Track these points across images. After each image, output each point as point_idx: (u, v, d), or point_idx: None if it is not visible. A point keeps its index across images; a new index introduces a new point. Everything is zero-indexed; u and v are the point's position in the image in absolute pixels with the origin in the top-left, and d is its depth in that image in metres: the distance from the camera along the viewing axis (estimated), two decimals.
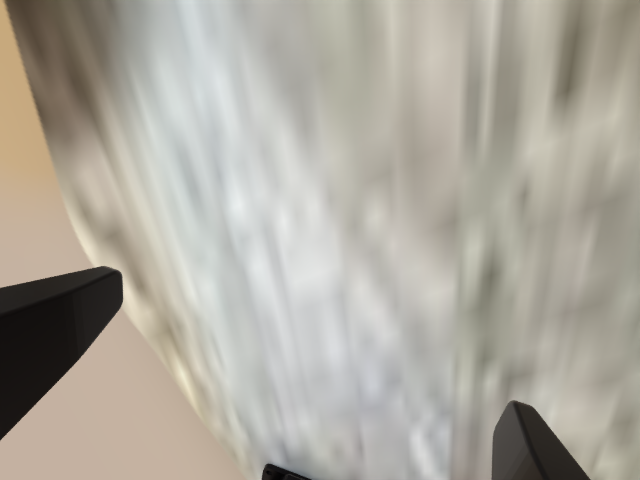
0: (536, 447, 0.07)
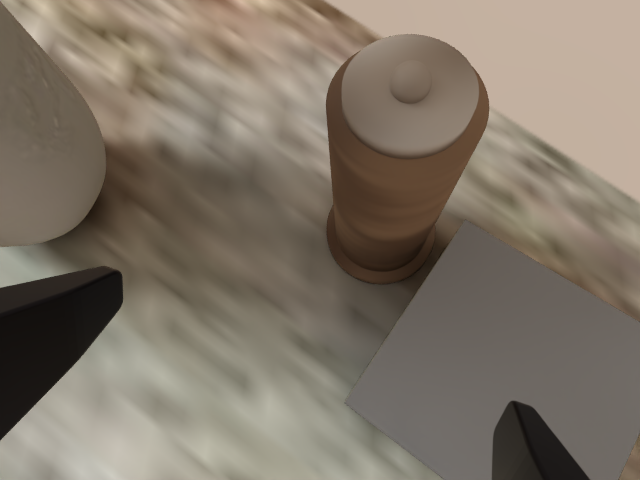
0: (536, 447, 0.07)
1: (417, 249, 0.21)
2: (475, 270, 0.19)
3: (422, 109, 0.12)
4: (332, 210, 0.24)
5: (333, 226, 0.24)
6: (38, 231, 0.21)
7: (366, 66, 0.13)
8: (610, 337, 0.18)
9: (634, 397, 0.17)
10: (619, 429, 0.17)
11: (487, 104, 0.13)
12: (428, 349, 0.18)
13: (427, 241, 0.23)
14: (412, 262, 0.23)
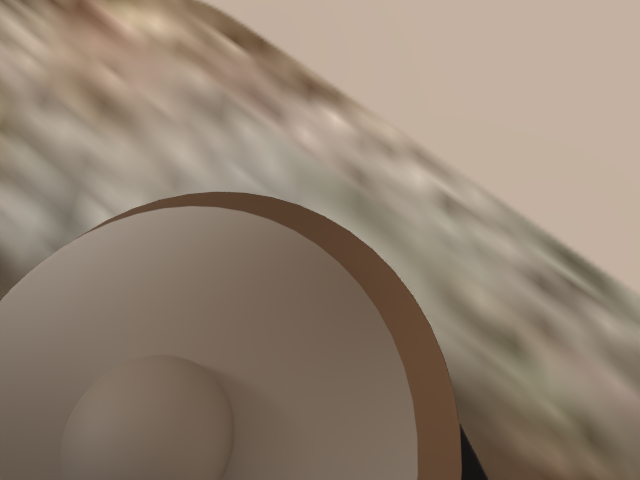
0: None
1: None
2: None
3: None
4: None
5: None
6: None
7: (38, 332, 0.04)
8: None
9: None
10: None
11: (455, 450, 0.04)
12: None
13: None
14: None
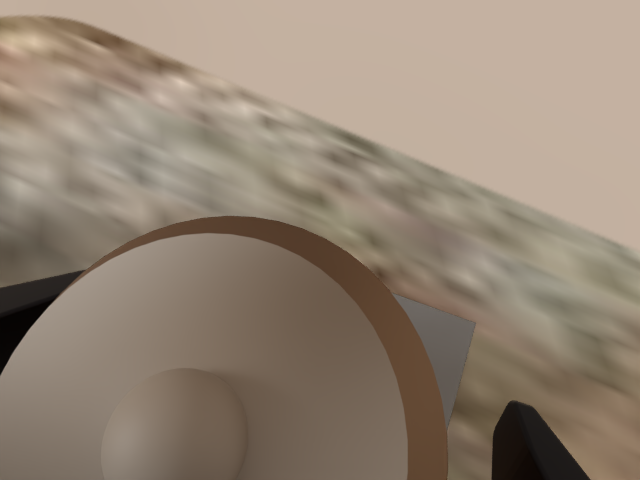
0: (536, 447, 0.07)
1: None
2: None
3: None
4: None
5: None
6: None
7: (73, 346, 0.04)
8: None
9: None
10: None
11: (442, 451, 0.04)
12: None
13: None
14: None
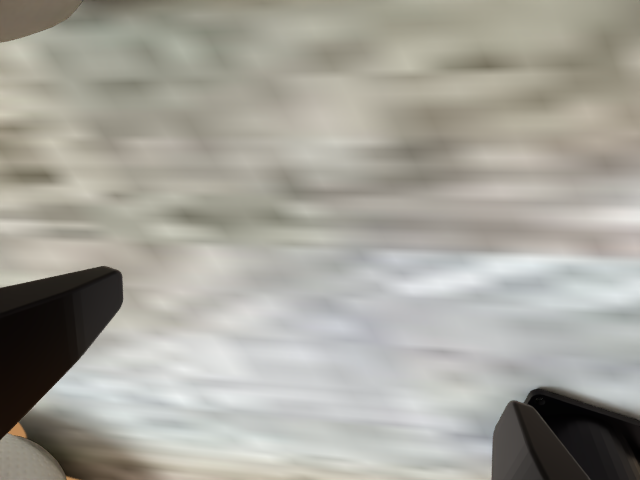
0: (536, 447, 0.07)
1: None
2: None
3: None
4: None
5: None
6: None
7: None
8: None
9: None
10: None
11: None
12: None
13: None
14: None
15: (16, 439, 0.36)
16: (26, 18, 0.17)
